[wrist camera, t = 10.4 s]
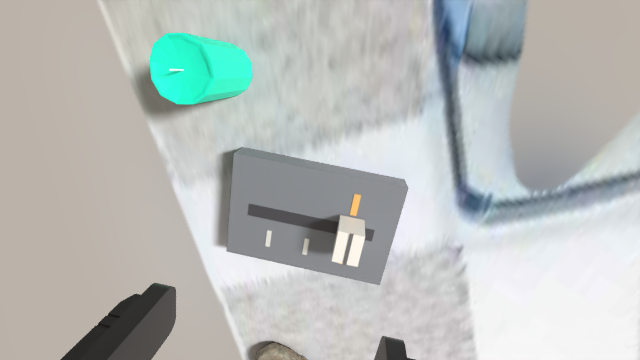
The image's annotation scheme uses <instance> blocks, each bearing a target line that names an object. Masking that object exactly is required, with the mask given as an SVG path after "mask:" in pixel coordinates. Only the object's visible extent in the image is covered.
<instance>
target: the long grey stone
mask: <svg viewBox="0 0 640 360" xmlns="http://www.w3.org/2000/svg"><path fill="white" fill-rule="evenodd" d="M255 360H307V359H306V358H305V357H304V356H299V355H298V354H297V353H296V352H294V351H293V350H292V349H289V348H287V347H285V346H283V345H279V344H277V343H271V344H269V345H267V346H265V347H263V348H261V349H260V350H259V351H258V352H257V355H256V357H255Z"/></svg>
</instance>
